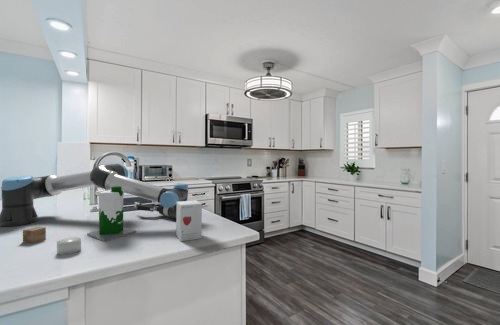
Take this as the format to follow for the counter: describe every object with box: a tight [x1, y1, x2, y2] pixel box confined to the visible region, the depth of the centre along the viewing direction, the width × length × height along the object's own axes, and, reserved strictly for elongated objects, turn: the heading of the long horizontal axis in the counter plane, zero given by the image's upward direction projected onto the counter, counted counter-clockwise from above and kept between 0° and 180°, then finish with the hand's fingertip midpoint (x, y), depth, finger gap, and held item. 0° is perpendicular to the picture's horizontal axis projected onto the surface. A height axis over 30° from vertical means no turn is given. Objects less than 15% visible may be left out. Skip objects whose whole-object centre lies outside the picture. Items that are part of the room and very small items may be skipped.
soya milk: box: [97, 186, 125, 234], centre depth 109 cm, size 9×9×20 cm
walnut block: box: [22, 226, 47, 244], centre depth 100 cm, size 5×5×5 cm
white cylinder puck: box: [56, 236, 82, 256], centre depth 89 cm, size 7×7×4 cm
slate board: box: [86, 226, 137, 242], centre depth 109 cm, size 14×14×1 cm
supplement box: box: [175, 199, 203, 242], centre depth 105 cm, size 9×9×15 cm
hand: (145, 203), depth 151 cm, fingers open, 13 cm apart
